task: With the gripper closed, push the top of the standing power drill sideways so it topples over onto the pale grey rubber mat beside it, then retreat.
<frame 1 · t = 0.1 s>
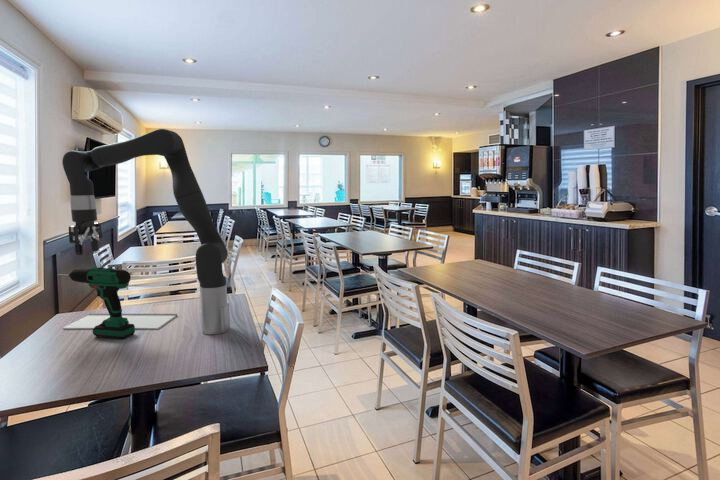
hand: (87, 252, 150), 29 cm above the table, fingers open, 8 cm apart
mat: (122, 322, 163), on the table
power drill: (96, 334, 150), on the table
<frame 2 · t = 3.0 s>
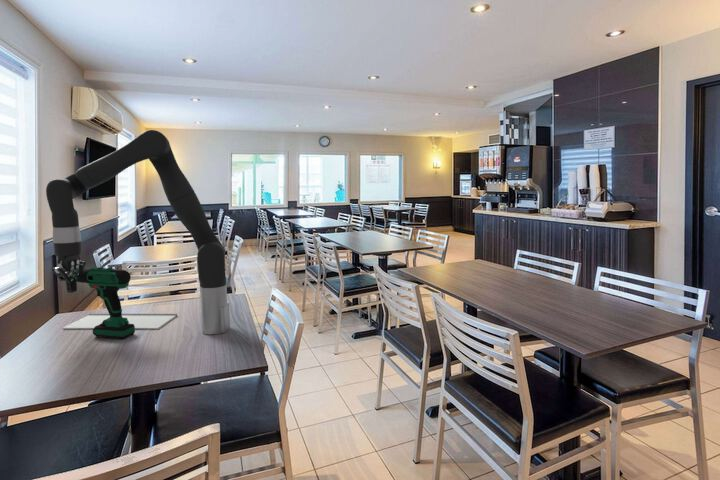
hand: (72, 291, 137), 18 cm above the table, fingers closed
nothing on the table moved.
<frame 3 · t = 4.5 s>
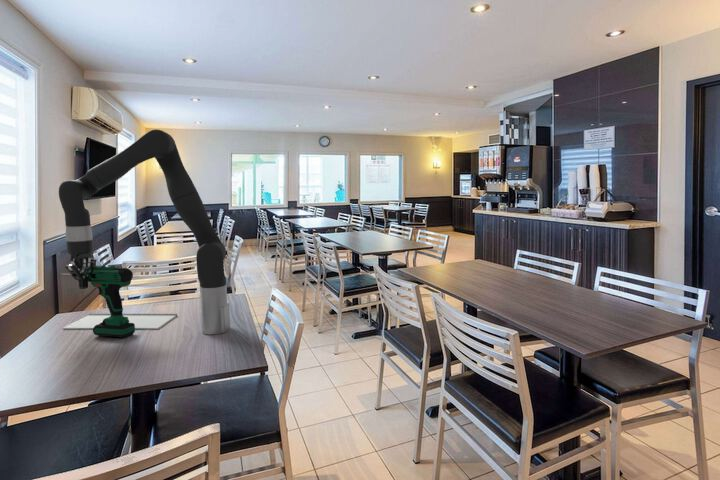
hand: (83, 288, 143), 18 cm above the table, fingers closed
power drill: (96, 334, 150), on the table, touching hand
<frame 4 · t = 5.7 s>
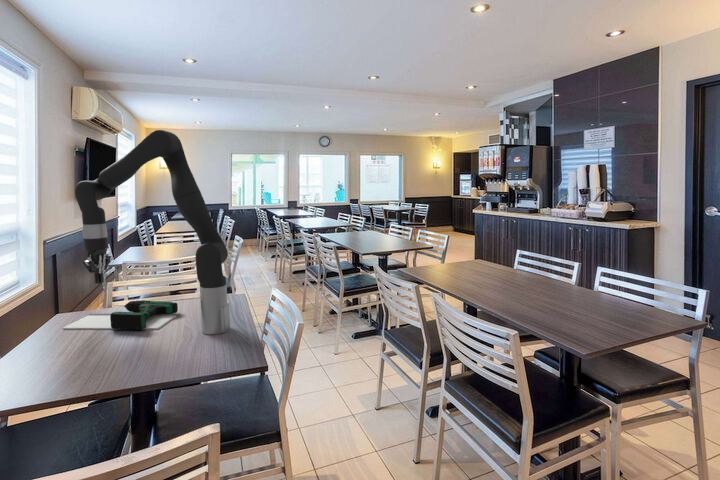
hand: (99, 283, 152), 18 cm above the table, fingers closed
power drill: (105, 321, 153), point 4 cm above the table, touching mat
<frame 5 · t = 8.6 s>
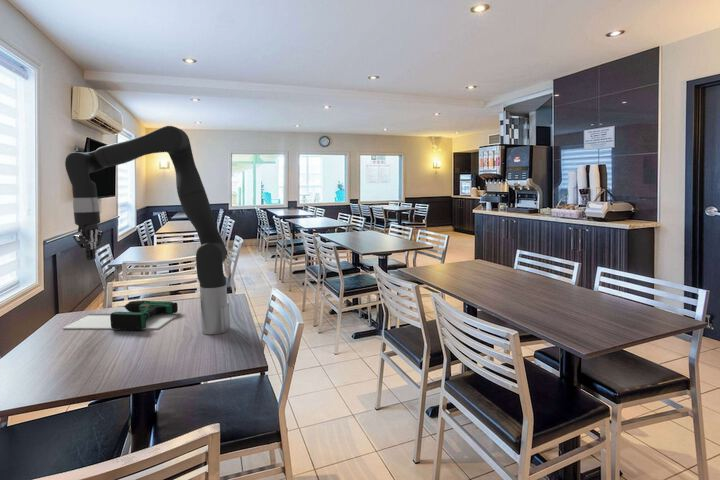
hand: (91, 259, 146), 28 cm above the table, fingers closed
power drill: (105, 321, 153), point 3 cm above the table, touching mat
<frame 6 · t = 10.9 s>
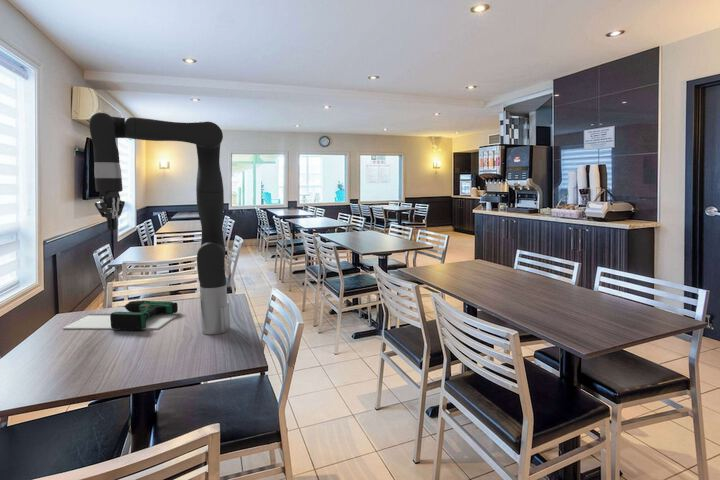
hand: (112, 229, 137), 39 cm above the table, fingers closed
nothing on the table moved.
at the end: power drill tilted 92°; power drill inside the target area (14.6 cm from its centre), point 3.5 cm above the table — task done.
